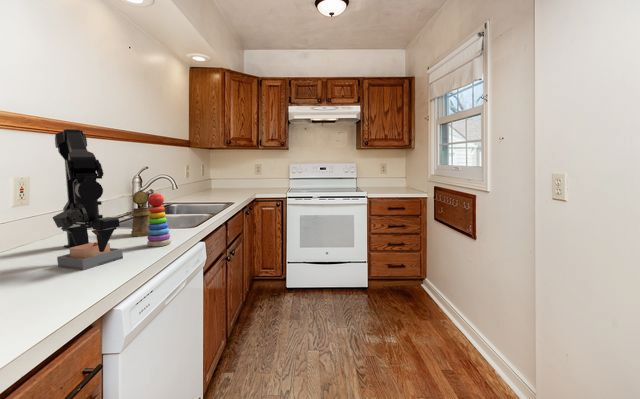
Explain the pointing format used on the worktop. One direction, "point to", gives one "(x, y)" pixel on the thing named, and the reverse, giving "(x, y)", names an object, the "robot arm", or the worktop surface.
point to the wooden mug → (140, 215)
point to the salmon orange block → (87, 250)
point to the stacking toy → (157, 222)
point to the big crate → (89, 260)
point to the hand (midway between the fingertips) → (90, 250)
